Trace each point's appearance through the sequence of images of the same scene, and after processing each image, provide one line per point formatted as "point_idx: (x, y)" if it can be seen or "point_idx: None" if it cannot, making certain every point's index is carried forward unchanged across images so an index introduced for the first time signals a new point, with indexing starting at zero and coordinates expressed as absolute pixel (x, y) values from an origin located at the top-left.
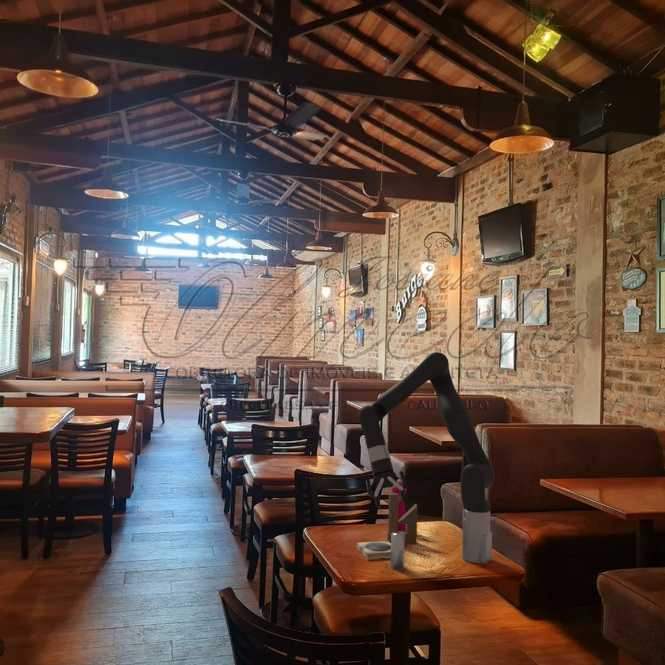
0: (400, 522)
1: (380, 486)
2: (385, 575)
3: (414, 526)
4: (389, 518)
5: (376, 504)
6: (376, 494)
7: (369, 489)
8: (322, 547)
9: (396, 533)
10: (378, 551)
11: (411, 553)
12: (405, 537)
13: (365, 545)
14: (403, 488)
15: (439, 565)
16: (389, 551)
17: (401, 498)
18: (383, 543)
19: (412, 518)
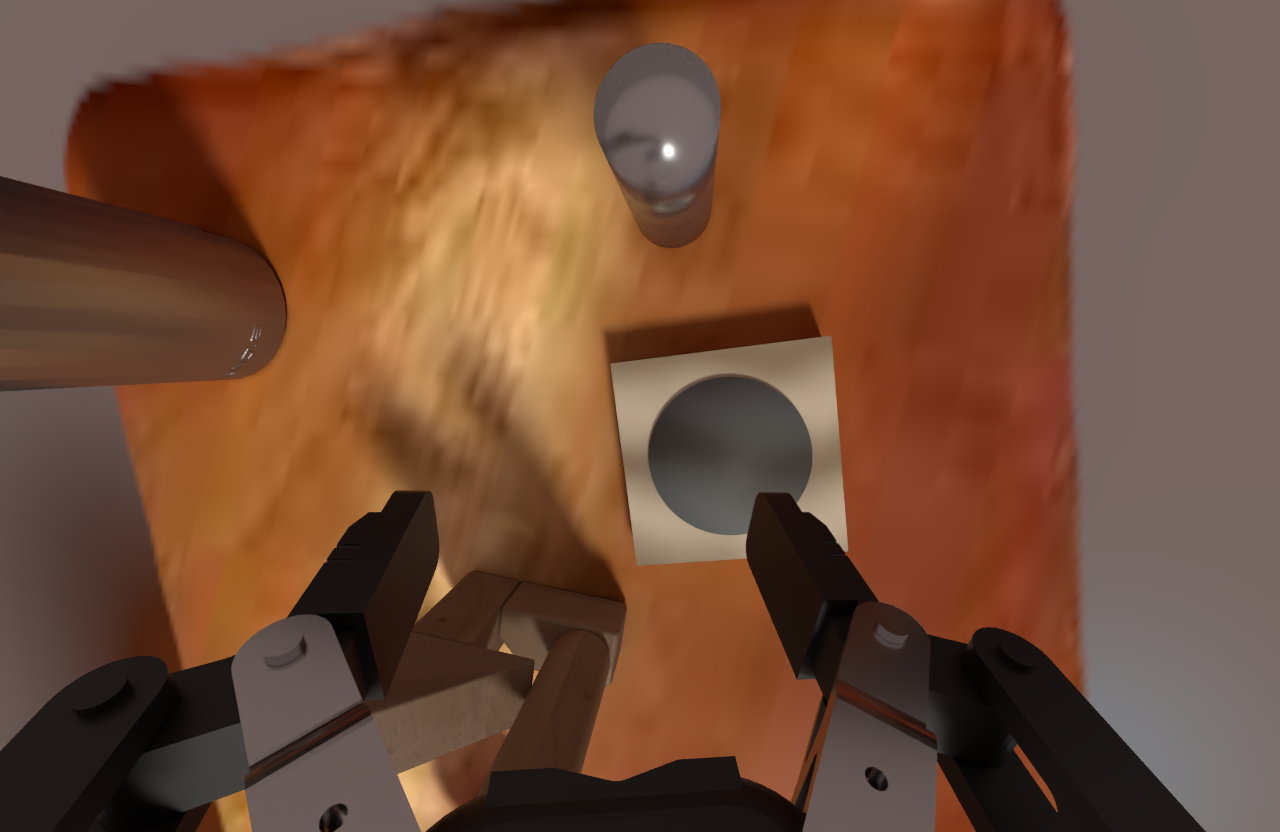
0: (515, 663)
1: (845, 785)
2: (778, 68)
3: (430, 626)
4: (588, 715)
5: (826, 541)
6: (887, 629)
7: (1121, 782)
8: (1058, 576)
9: (669, 114)
10: (747, 375)
11: (535, 424)
12: (518, 598)
13: (804, 493)
14: (238, 671)
15: (431, 224)
16: (677, 370)
17: (419, 553)
18: (680, 510)
19: (411, 664)
